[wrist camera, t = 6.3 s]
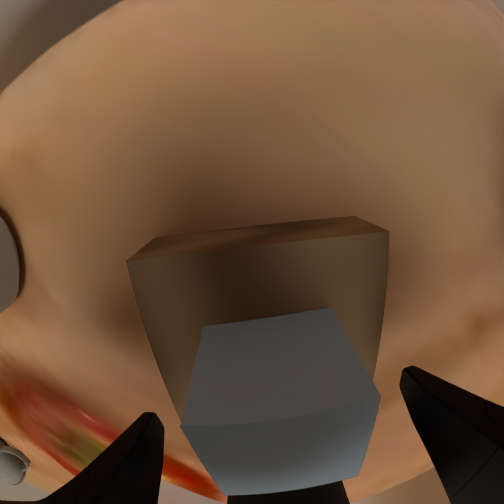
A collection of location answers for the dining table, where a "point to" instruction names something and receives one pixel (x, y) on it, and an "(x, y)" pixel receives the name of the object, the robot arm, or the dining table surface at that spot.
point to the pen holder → (297, 496)
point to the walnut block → (259, 285)
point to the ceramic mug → (12, 464)
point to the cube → (279, 404)
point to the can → (8, 267)
